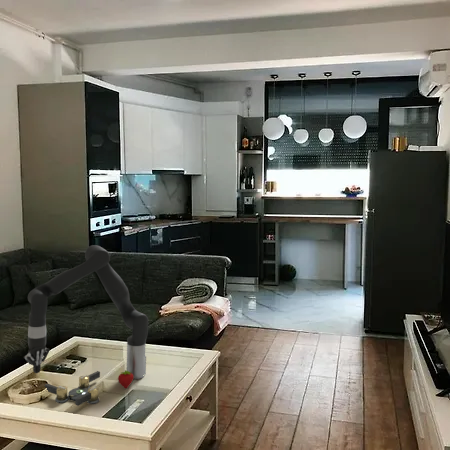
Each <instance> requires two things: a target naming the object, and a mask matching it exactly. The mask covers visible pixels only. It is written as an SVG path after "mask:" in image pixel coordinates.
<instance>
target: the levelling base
mask: <svg viewBox="0 0 450 450" xmlns="http://www.w3.org/2000/svg"><path fill="white" fill-rule="evenodd" d="M89 388H91V386H90V385H89V387H88V388H83V387H81V388H79V385H78V387H75V388H72V389H70V390H69V391H68V392H67V399H65V400H57V396H56V397H55V403H58V404H64V403H67V402H68V401H72V402H74V403H75V402H76V398H78V397H80V396H82V395H84V394H85V393H87V392H88V389H89ZM99 402H100V398H99V397H98V400H96V401H89V400H88V401H86V403H87V404H89V405H96V404H98V403H99Z"/></svg>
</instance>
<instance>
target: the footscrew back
mask: <svg viewBox="0 0 450 450" xmlns="http://www.w3.org/2000/svg"><path fill="white" fill-rule="evenodd" d="M100 377H101V372H100V371H98V370H96V371H94V372H92V373H91V374H85V375H80V376H79V377H78V386H79V388H81V387H83V388H88V387H89V386H90V383H91V382H93V381H95V380H97V379H99V378H100Z"/></svg>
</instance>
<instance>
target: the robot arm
mask: <svg viewBox="0 0 450 450" xmlns="http://www.w3.org/2000/svg"><path fill="white" fill-rule="evenodd" d="M84 256H85V261H84V262H82V263H81V264H79V265H77V266H75V267H71V268H70V269H67V270H63V271H62V272H60V273H58V274H57V275H55V276H54V277H52V278H51V279H49V280H48V281H47V282H45V283H42V284H40V285H38V286H36V287H35V288H33V289H32V290H30V291H29V293H28V295H27V301H28V303H29V304H30V313H29V314H28V327H27V328H28V329H27V331H28V332H27V346H28V350H27V352H28V353H27V354H26V355H24V356H23V359H25V361H26V362H27V363H28V364H29V365H32V370H33V373H34V374H39V373H40V372H41V370H42V369H41V366H42V365H41V364H42V363H44V362H45V361H46V359H47V357H48V355H49V354H50V353H49V352H50V351H51V349H50V348H49V347H48V348H47V346H46V345H47V316H46V315H47V311H48V301H49V300H48V298H49V297H51V296H57V295H58V294H60V293H61V292H63V291H64V290H66V289H68V288H69V287H70V286H71V285H74V284H75V283H76V282H78V281H79V280H81V279H84V278H85V277H86V276H89V275H90V274H93V273H94V272H95V273H96V275H97V276H98V278H99V280H100V282H101V285H102V286H103V288H104V290H105V292H106V293H107V294H108V296H109V298H110V299H111V301H112V302H113V304H114V305H115V307H116V308H117V310H118V311H119V314H120V316H121V318H122V320H123V323H124V324H125V327H127V328H129V329H131V330H132V334H131V335H130V336H128V337H127V340H126V369H125V370H126V371H129V372H130V373H132V374H133V377H134V378H133V380H139V379H143V378H144V377H145V375H146V373H147V372H146V371H147V356H146V347H147V345H146V344H147V343H146V342H147V338H148V336H149V335H148V333H149V318H148V316H147V315H146V314H145V313H142V312H140V311H138V310H137V309H136V308H135V307H134V306H133V304H132V302H131V300H130V299H131V298H130V292H129V288H128V286H127V285H126V283H125V282H124V280H123V278H122V277H121V276H120V275H119V274H118V273H117V271H116V270H114V268H113V267H112V266H111V264H110V260H111V256H110V253H109V252H108V250H106V249H105V248H104V247H101V246H100V245H96V244H94V245H93V244H92V245H90V246H88V247H87V248H86V250H85V253H84ZM143 375H144V376H143Z"/></svg>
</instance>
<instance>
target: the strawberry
mask: <svg viewBox="0 0 450 450" xmlns="http://www.w3.org/2000/svg"><path fill="white" fill-rule="evenodd" d="M126 370H127V369H125V370H124V371H122V372H120V374H119V375H118V377H117V380H118V383H119V384H120V386H122V387H123V389H128V388H129V386H130V385H131V383H132V382H133V380H134V379H133V378H134V377H133V374H132V373H130V372H129V371H126Z"/></svg>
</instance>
